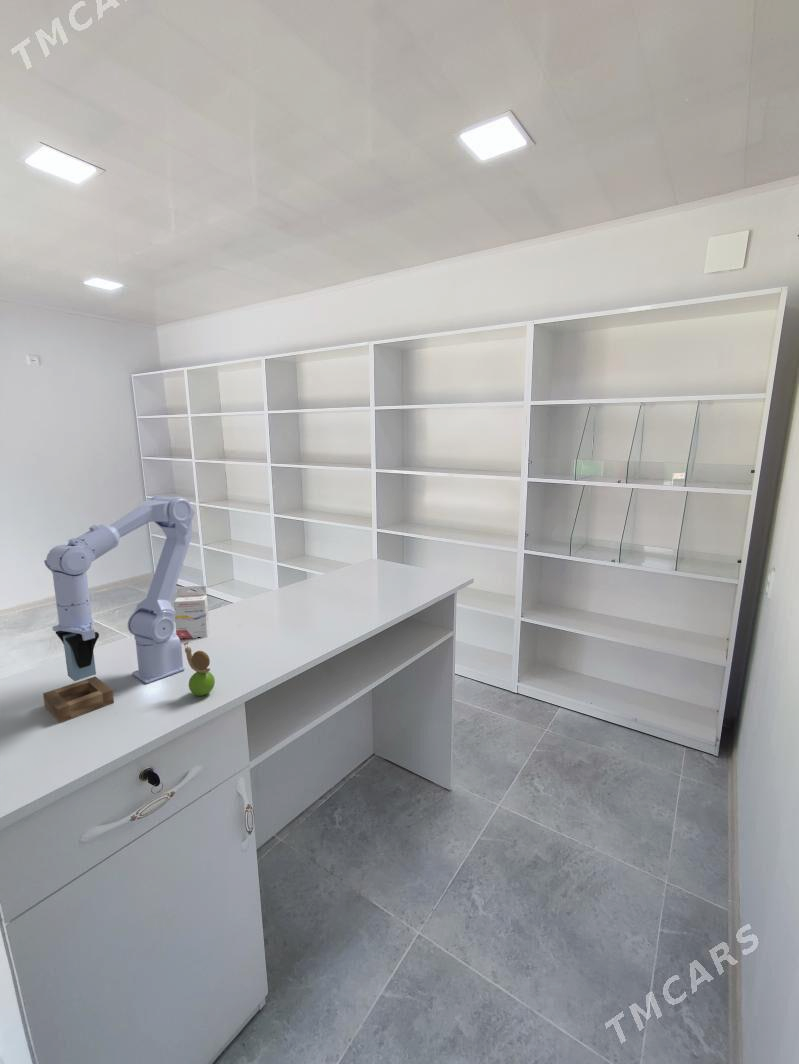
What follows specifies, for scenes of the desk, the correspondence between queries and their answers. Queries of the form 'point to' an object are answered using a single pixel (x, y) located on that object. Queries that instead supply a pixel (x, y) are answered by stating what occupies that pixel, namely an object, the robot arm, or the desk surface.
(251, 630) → the desk surface
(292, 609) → the desk surface
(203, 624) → the ink cartridge box
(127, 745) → the desk surface
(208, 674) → the snail figurine
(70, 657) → the slate-blue peg
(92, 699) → the walnut collar
